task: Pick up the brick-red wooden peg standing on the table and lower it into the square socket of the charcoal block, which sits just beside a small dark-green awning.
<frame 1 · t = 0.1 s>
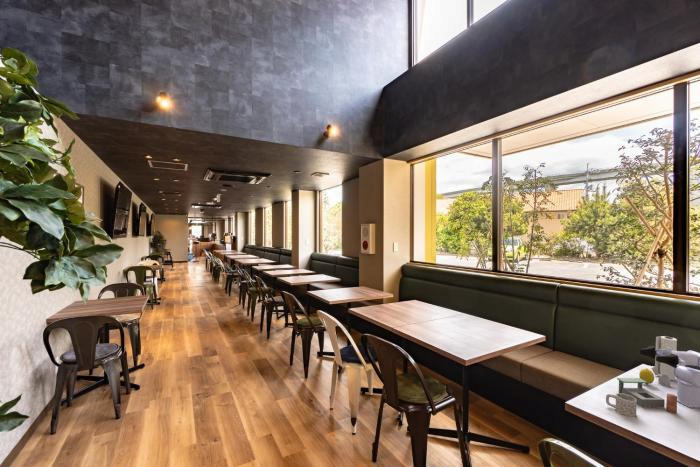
hand: (648, 355, 142), 22 cm above the table, tool horizontal, fingers open, 7 cm apart
mug: (620, 411, 136), on the table
socket block: (642, 401, 144), on the table
lemon: (646, 384, 160), on the table
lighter: (660, 383, 161), on the table
peg: (671, 411, 136), on the table
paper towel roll: (665, 377, 168), on the table
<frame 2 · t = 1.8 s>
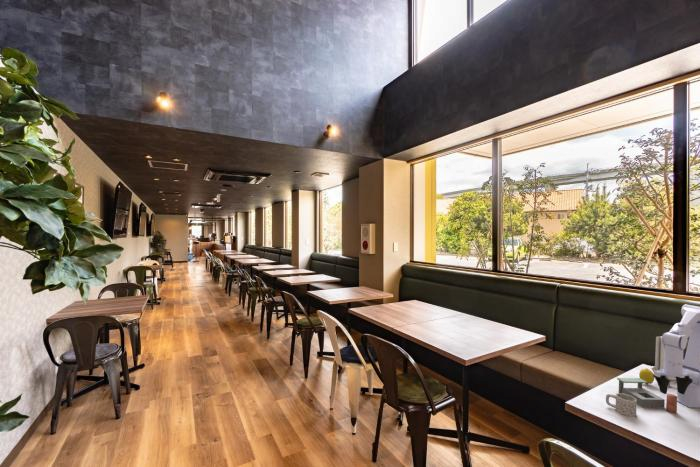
hand: (672, 393, 136), 8 cm above the table, tool pointing down, fingers open, 7 cm apart
nothing on the table moved.
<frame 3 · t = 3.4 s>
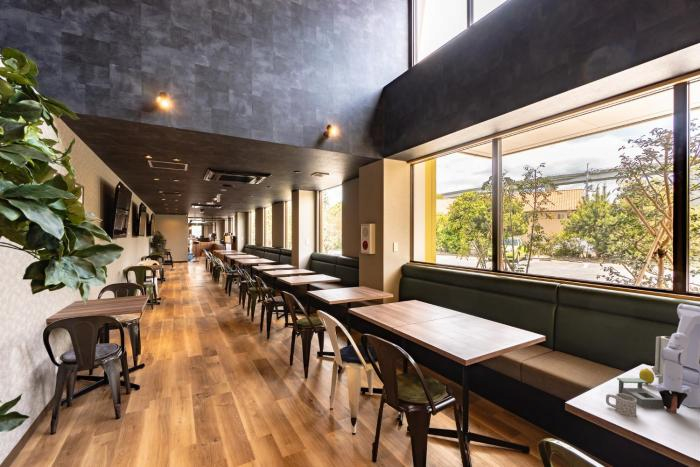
hand: (671, 407, 136), 2 cm above the table, tool pointing down, fingers closed on peg, 3 cm apart
peg: (671, 411, 136), on the table, touching gripper
everything else where it was.
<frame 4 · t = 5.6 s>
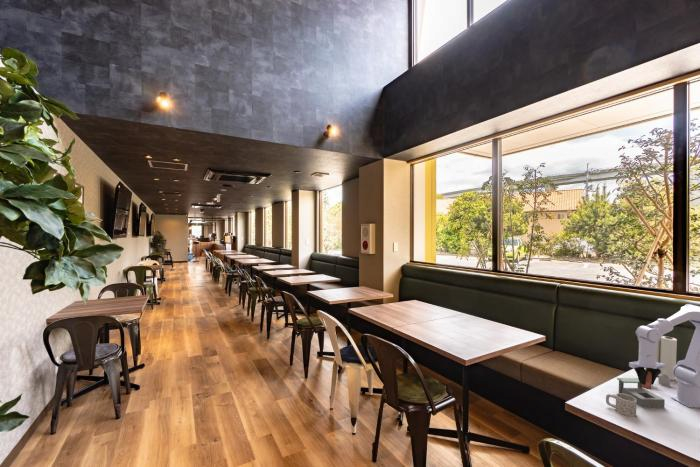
hand: (646, 383, 142), 9 cm above the table, tool pointing down, fingers closed on peg, 3 cm apart
peg: (646, 387, 142), point 7 cm above the table, touching gripper
everything else where it was.
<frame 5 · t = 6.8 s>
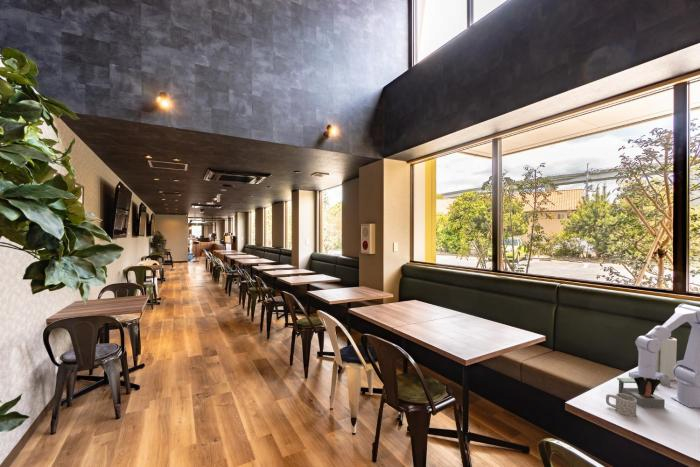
hand: (645, 393, 142), 4 cm above the table, tool pointing down, fingers closed on peg, 3 cm apart
peg: (646, 397, 142), point 2 cm above the table, touching gripper
everything else where it was.
when the fingers open (4 cm above the table, at t = 7.6 s): peg drops 2 cm, resting in socket block.
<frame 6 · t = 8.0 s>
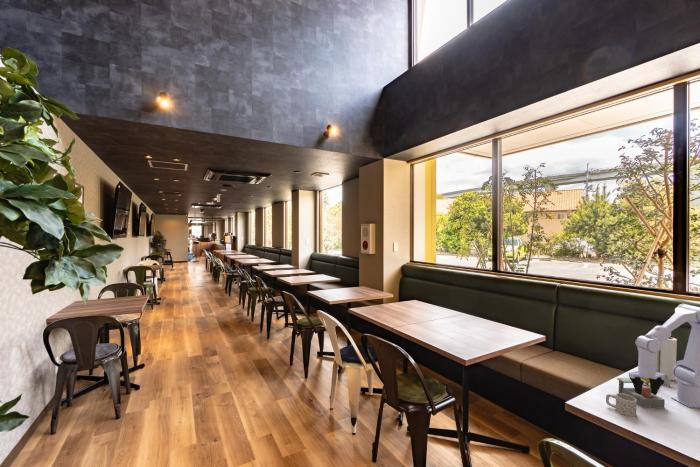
hand: (645, 393, 142), 4 cm above the table, tool pointing down, fingers open, 6 cm apart
peg: (645, 403, 142), resting in socket block
everything else where it was.
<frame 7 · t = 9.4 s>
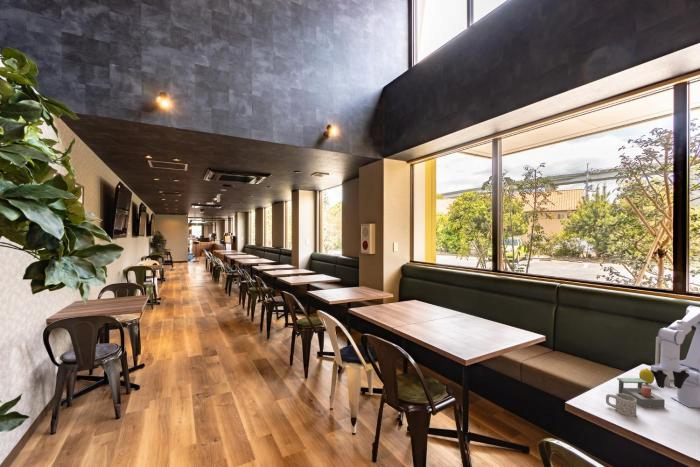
hand: (669, 387, 138), 9 cm above the table, tool pointing down, fingers open, 7 cm apart
nothing on the table moved.
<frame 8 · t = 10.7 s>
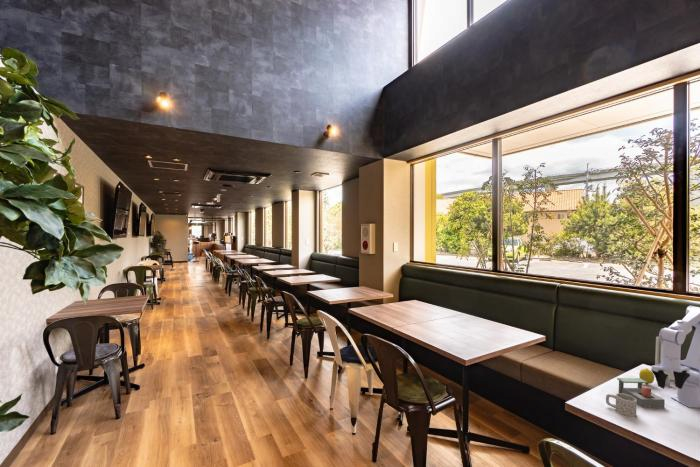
hand: (669, 387, 138), 9 cm above the table, tool pointing down, fingers open, 7 cm apart
nothing on the table moved.
at the end: peg 0.1 cm from the target spot on the socket block, point 0.0 cm above the socket block's base; peg tilted 0°; the gripper is holding nothing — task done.
